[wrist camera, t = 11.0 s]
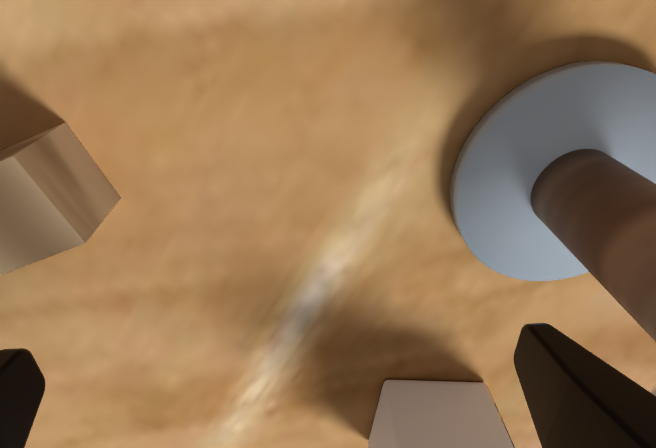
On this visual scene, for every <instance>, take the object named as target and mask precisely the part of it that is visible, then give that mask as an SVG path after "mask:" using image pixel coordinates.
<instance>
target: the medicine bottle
mask: <svg viewBox="0 0 656 448" xmlns="http://www.w3.org/2000/svg"><path fill="white" fill-rule="evenodd" d="M368 446H369V448H515V447H514V445H513V442H512V440H511V438H510V436H509V433H508V431H507V429H506V427H505V425H504V422H503V420H502V418H501V416H500V413H499V411H498V409H497V407H496V404H495V402H494V400H493V398H492V395H491V393H490V391H489V389H488V386H487V385H486V384H485V383H481V382H450V381H417V380H386V381H385V382H384V384H383V387H382V391H381V395H380V399H379V403H378V407H377V410H376V414H375V418H374V422H373V426H372V429H371V433H370V437H369V441H368Z"/></svg>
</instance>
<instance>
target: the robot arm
mask: <svg viewBox="0 0 656 448" xmlns="http://www.w3.org/2000/svg"><path fill="white" fill-rule="evenodd" d="M514 365H515V369H516V372H517V375H518V378H519V381H520V384H521V387H522V390H523V393H524V396H525V399H526V402H527V405H528V408H529V411H530V414H531V417H532V419H533V422H534V425H535V428H536V431H537V434H538V437H539V440H540V443H541V445H542V448H656V396H654V395H653V394H652V393H650V392H649V391H647V390H646V389H644V388H643V387H641V386H640V385H638V384H637V383H635V382H634V381H632V380H631V379H629V378H628V377H626V376H625V375H624V374H622V373H621V372H619V371H618V370H616V369H615V368H613V367H612V366H610V365H609V364H607V363H606V362H604V361H603V360H601V359H600V358H598V357H597V356H595V355H594V354H592V353H591V352H589V351H588V350H587V349H585V348H584V347H582V346H581V345H579V344H578V343H576V342H575V341H573V340H572V339H570V338H569V337H567V336H566V335H564V334H563V333H561V332H560V331H558V330H557V329H555V328H554V327H553V326H551V325H549V324H546V323H536V324H526V325H524V326H523V327H522V330H521V333H520V336H519V339H518V343H517V346H516V349H515V353H514ZM44 391H45V379H44V376H43V374H42V372H41V371H40V369H39V367H38V365H37V363H36V361H35V359H34V357H33V356H32V354H31V352H30V351H28V350H27V349H23V348H21V349H4V350H0V448H24V447H25V444H26V441H27V439H28V436H29V433H30V430H31V428H32V425H33V422H34V419H35V416H36V414H37V411H38V408H39V405H40V403H41V400H42V397H43V394H44Z"/></svg>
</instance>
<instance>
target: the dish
mask: <svg viewBox="0 0 656 448" xmlns="http://www.w3.org/2000/svg"><path fill="white" fill-rule="evenodd" d="M579 149H596V150H599V151H602V152H604V153H606V154H607V155H609V156H611V157H612V158H614V159H616V160H617V161H619V162H621V163H622V164H624V165H625V166H627V167H629V168H630V169H632V170H634V171H635V172H637V173H639V174H640V175H642V176H643V177H645V178H647V179H648V180H650V181H652V182H653V183H655V184H656V74H654V73H652V72H649V71H647V70H644V69H640V68H637V67H633V66H630V65H627V64H622V63H617V62H612V61H584V62H576V63H572V64H568V65H563V66H560V67H557V68H554V69H551V70H548V71H546V72H543V73H541V74H539V75H537V76H535V77H533V78H531V79H529V80H527V81H525V82H524V83H522V84H521V85H519V86H518V87H516V88H514V89H513V90H511V91H510V92H509V93H508V94H506V95H505V96H504V97H503V98H501V99H500V100H499V101H498V102H497V103H496V104H495V105H494V106H493V107H492V108H491V109H490V110H489V111H488V112H486V113H485V115H484V116H483V117H482V118H481V120H480V121H479V122H478V123H477V124H476V126H475V127H474V128H473V130H472V131H471V133H470V134H469V136H468V138H467V139H466V141H465V143H464V145H463V147H462V149H461V151H460V153H459V155H458V157H457V160H456V163H455V166H454V169H453V173H452V178H451V184H450V207H451V212H452V216H453V220H454V222H455V224H456V227H457V229H458V231H459V233H460V234H461V236H462V238H463V239H464V241H465V243H466V244H467V246H468V247H469V249H470V250H471V252H472V253H473V254H474V255H475V256H476V257H477V259H478V260H480V261H481V262H482V263H483V264H485V265H486V266H487V267H489V268H490V269H492V270H494V271H496V272H498V273H500V274H503V275H505V276H508V277H512V278H516V279H520V280H528V281H550V280H560V279H565V278H570V277H574V276H577V275H581V274H584V273H587V272H589V271H588V270H587V269H586V268H585V267H584V266H583V264H582V263H581V262H580V261H579V260H578V259H577V258H576V257H575V256H574V255H573V254H572V253H571V252H570V251H569V250H568V249H567V248H566V247H565V245H564V244H563V243H562V242H561V241H560V240H559V239H558V238H557V237H556V236H555V235H554V234H553V233H552V232H551V231H550V230H549V229H548V228H547V226H546V225H545V224H544V223H543V222H542V221H541V220H540V219H539V218H538V217H537V216H536V215H535V213H534V212H533V209H532V206H531V191H532V188H533V185H534V183H535V181H536V179H537V177H538V176H539V174H540V173H541V172H542V171H543V170H544V168H546V167H547V166H548V165H549V164H550V163H551V162H552V161H554V160H555V159H557V158H558V157H560V156H562V155H564V154H566V153H568V152H571V151H574V150H579Z"/></svg>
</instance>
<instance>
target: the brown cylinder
mask: <svg viewBox="0 0 656 448" xmlns="http://www.w3.org/2000/svg"><path fill="white" fill-rule="evenodd" d="M531 206H532V209H533V212H534V213H535V215H536V216H537V217H538V218H539V219H540V220H541V221H542V222H543V223H544V224H545V225H546V226H547V228H548V229H549V230H550V231H551V232H552V233H553V234H554V235H555V236H556V237H557V238H558V239H559V240H560V241H561V242H562V243H563V244H564V245H565V247H566V248H567V249H568V250H569V251H570V252H571V253H572V254H573V255H574V256H575V257H576V258H577V259H578V260H579V261H580V262H581V263H582V264H583V266H584V267H585V268H586V269H587V270H588V271H589V272H590V273H591V274H592V275H593V276H594V277H595V278H596V279H597V280H598V281H599V282H600V284H601V285H602V286H603V287H604V288H605V289H606V290H607V291H608V292H609V293H610V294H611V295H612V296H613V297H614V298H615V299H616V300H617V301H618V303H619V304H620V305H621V306H622V307H623V308H624V309H625V310H626V311H627V312H628V313H629V314H630V315H631V316H632V317H633V318H634V319H635V320H636V322H637V323H638V324H639V325H640V326H641V327H642V328H643V329H644V330H645V331H646V332H647V333H648V334H649V335H650V336H651V337H652V338H653V339H654V341H655V342H656V184H655V183H653V182H652V181H650V180H648V179H647V178H645V177H643V176H642V175H640V174H639V173H637V172H635V171H634V170H632V169H630V168H629V167H627V166H625V165H624V164H622V163H621V162H619V161H617V160H616V159H614V158H612V157H611V156H609V155H607V154H606V153H604V152H602V151H599V150H596V149H579V150H574V151H571V152H568V153H566V154H564V155H562V156H560V157H558V158H557V159H555V160H554V161H552V162H551V163H550V164H549V165H548V166H547V167H546V168H544V170H543V171H542V172H541V173H540V174H539V176H538V177H537V179H536V181H535V183H534V185H533V188H532V191H531Z"/></svg>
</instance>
